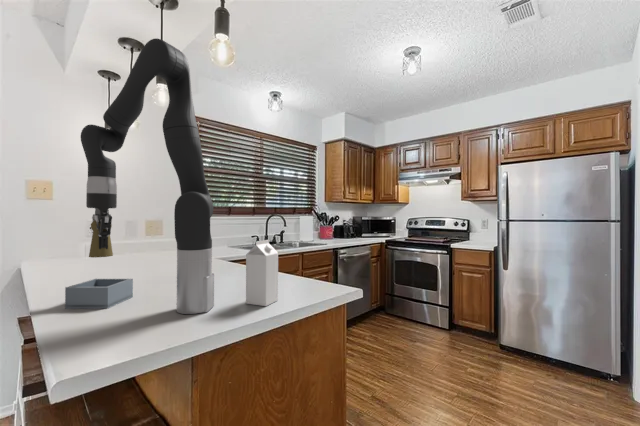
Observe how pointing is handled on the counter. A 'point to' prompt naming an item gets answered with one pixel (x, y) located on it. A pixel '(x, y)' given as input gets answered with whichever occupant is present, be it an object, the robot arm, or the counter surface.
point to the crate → (98, 293)
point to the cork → (95, 244)
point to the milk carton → (262, 274)
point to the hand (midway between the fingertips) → (101, 248)
